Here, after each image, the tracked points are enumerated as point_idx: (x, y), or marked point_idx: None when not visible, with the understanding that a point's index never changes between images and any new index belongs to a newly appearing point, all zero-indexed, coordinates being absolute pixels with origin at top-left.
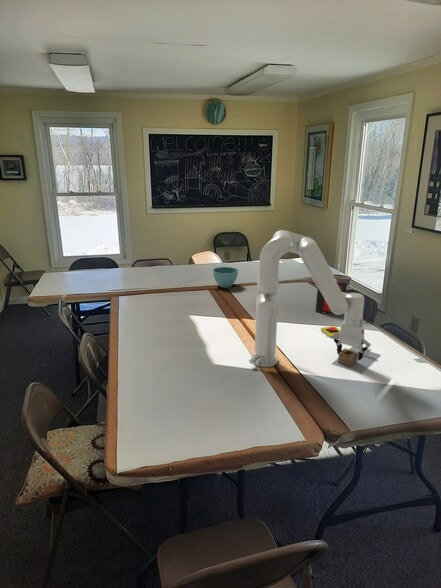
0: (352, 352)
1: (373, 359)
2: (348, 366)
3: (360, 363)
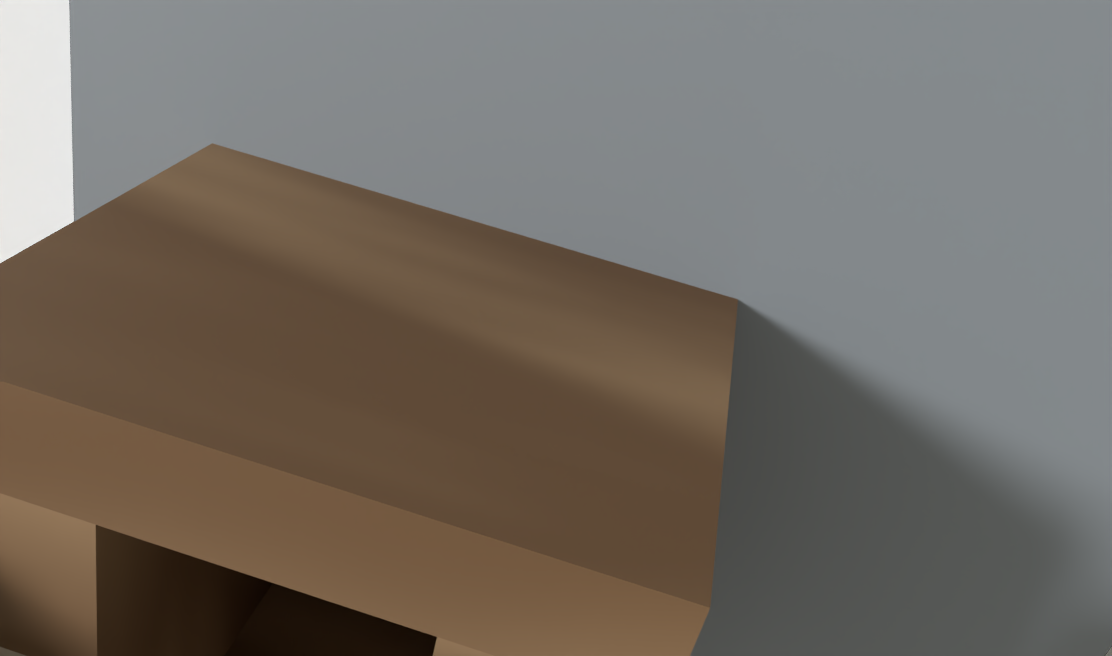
0: (401, 584)
1: None
2: None
3: (877, 353)
